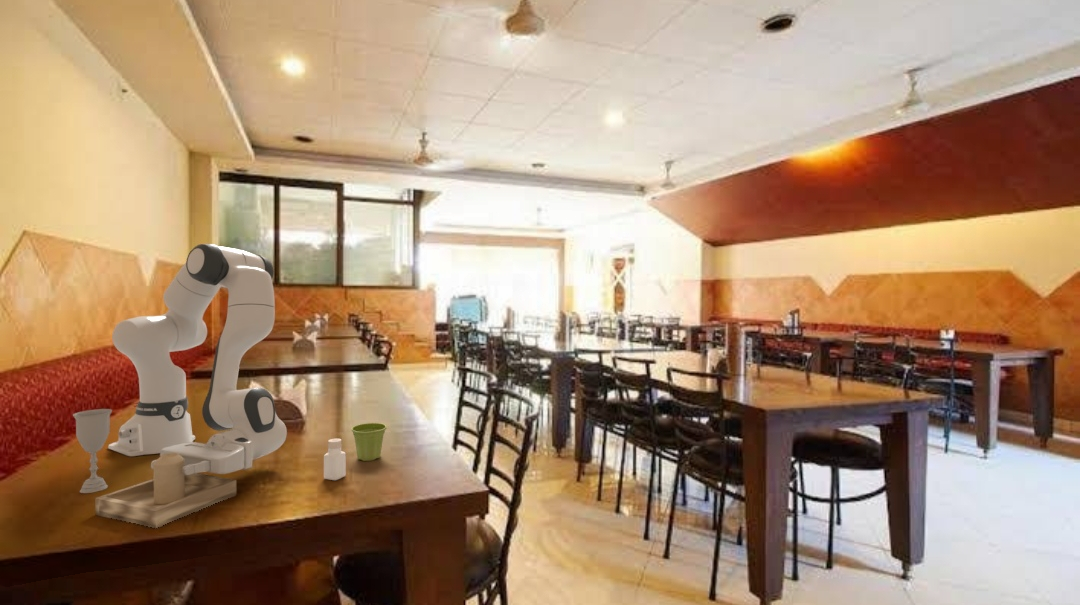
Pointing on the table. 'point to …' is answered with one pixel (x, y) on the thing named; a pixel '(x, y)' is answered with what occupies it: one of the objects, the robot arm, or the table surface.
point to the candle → (168, 479)
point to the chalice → (93, 442)
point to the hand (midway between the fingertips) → (168, 468)
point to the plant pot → (369, 440)
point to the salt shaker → (334, 460)
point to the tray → (142, 510)
